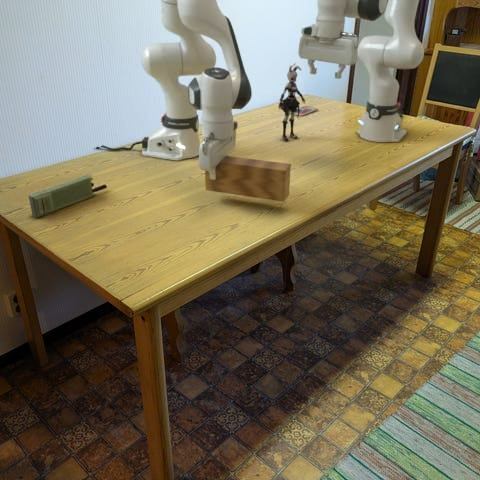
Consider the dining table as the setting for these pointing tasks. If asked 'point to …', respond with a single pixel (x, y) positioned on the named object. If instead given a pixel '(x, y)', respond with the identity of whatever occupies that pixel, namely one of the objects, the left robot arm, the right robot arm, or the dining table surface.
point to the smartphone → (305, 110)
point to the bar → (251, 178)
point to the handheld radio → (62, 195)
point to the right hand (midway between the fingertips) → (325, 76)
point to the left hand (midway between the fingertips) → (218, 174)
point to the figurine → (290, 101)
